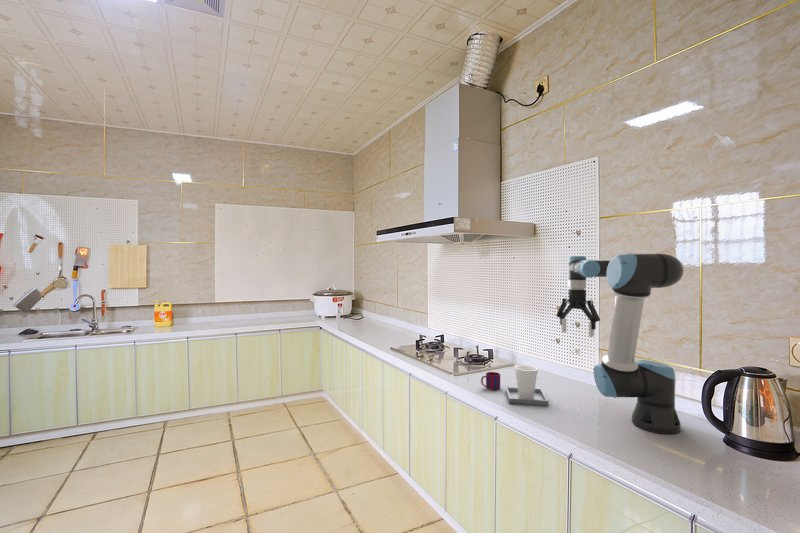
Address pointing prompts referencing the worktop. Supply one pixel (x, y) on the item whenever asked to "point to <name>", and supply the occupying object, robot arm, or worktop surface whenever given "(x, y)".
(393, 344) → the worktop surface
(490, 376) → the cup
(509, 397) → the tray
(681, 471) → the worktop surface
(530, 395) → the foam cup
